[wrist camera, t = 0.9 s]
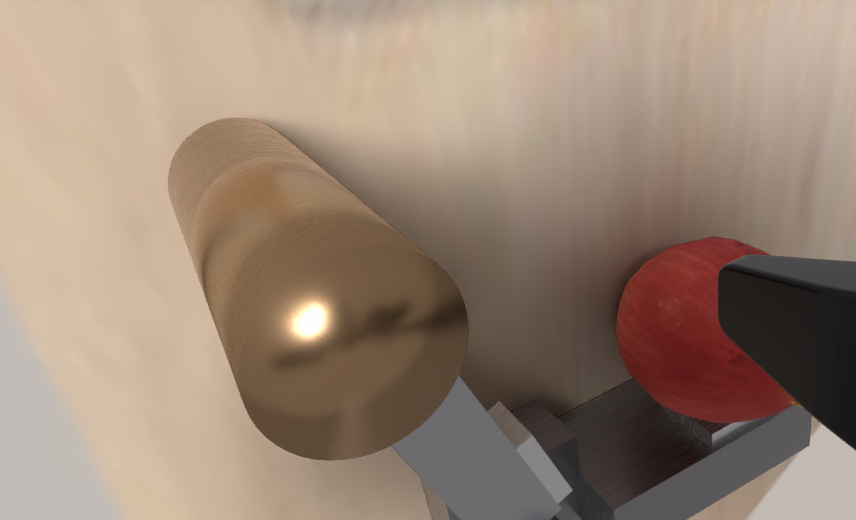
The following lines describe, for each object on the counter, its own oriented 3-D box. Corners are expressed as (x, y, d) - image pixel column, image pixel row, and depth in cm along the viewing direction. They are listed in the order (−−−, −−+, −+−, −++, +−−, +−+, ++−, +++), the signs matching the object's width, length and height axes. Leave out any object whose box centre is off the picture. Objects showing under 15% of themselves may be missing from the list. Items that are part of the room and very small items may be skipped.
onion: (652, 176, 24) (877, 256, 17) (716, 270, 27) (927, 369, 20) (540, 301, 23) (721, 431, 17) (617, 381, 27) (796, 518, 20)
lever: (514, 429, 24) (713, 641, 16) (439, 494, 23) (607, 745, 16) (255, 85, 16) (405, 183, 8) (137, 174, 16) (182, 361, 8)
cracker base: (713, 311, 27) (853, 387, 22) (714, 406, 30) (841, 494, 25) (415, 459, 24) (504, 590, 18) (442, 556, 26) (527, 696, 21)
